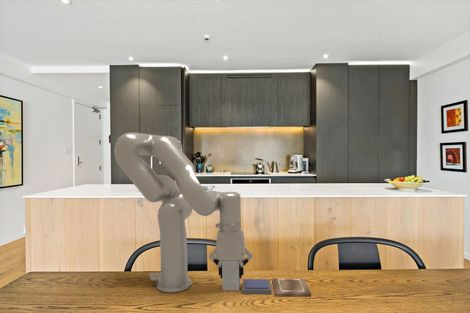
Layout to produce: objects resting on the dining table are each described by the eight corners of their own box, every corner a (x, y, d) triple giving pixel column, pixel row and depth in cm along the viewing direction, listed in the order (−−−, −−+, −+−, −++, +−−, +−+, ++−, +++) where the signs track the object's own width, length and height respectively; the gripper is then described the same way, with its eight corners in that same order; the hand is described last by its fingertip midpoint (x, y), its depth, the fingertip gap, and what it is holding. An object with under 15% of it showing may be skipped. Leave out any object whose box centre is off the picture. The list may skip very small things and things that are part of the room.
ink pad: (242, 294, 107) (242, 288, 107) (242, 282, 116) (242, 277, 116) (271, 294, 106) (271, 289, 106) (269, 282, 115) (269, 278, 115)
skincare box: (240, 285, 113) (239, 253, 113) (239, 291, 109) (238, 257, 109) (223, 285, 114) (223, 252, 113) (222, 290, 109) (221, 256, 109)
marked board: (274, 296, 105) (274, 292, 104) (272, 281, 117) (272, 277, 116) (311, 296, 104) (311, 292, 104) (304, 281, 116) (304, 277, 116)
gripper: (204, 229, 107) (205, 281, 108) (254, 229, 107) (255, 281, 107) (207, 224, 115) (208, 272, 115) (254, 224, 114) (255, 273, 114)
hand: (231, 276), depth 111 cm, fingers closed on skincare box, 6 cm apart
